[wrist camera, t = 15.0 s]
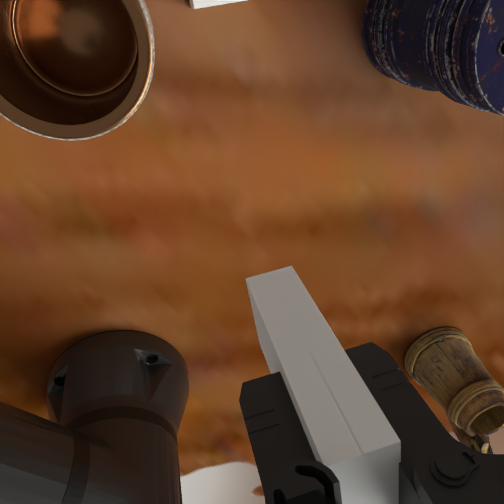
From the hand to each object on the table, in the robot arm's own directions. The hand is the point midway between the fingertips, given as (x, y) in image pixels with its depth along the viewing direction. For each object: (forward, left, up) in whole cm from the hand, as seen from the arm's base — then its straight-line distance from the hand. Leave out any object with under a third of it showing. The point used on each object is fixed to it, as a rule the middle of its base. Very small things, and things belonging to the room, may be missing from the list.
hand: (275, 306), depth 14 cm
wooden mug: (+25, -39, -27) cm, 53 cm away
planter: (-7, +7, -27) cm, 29 cm away
